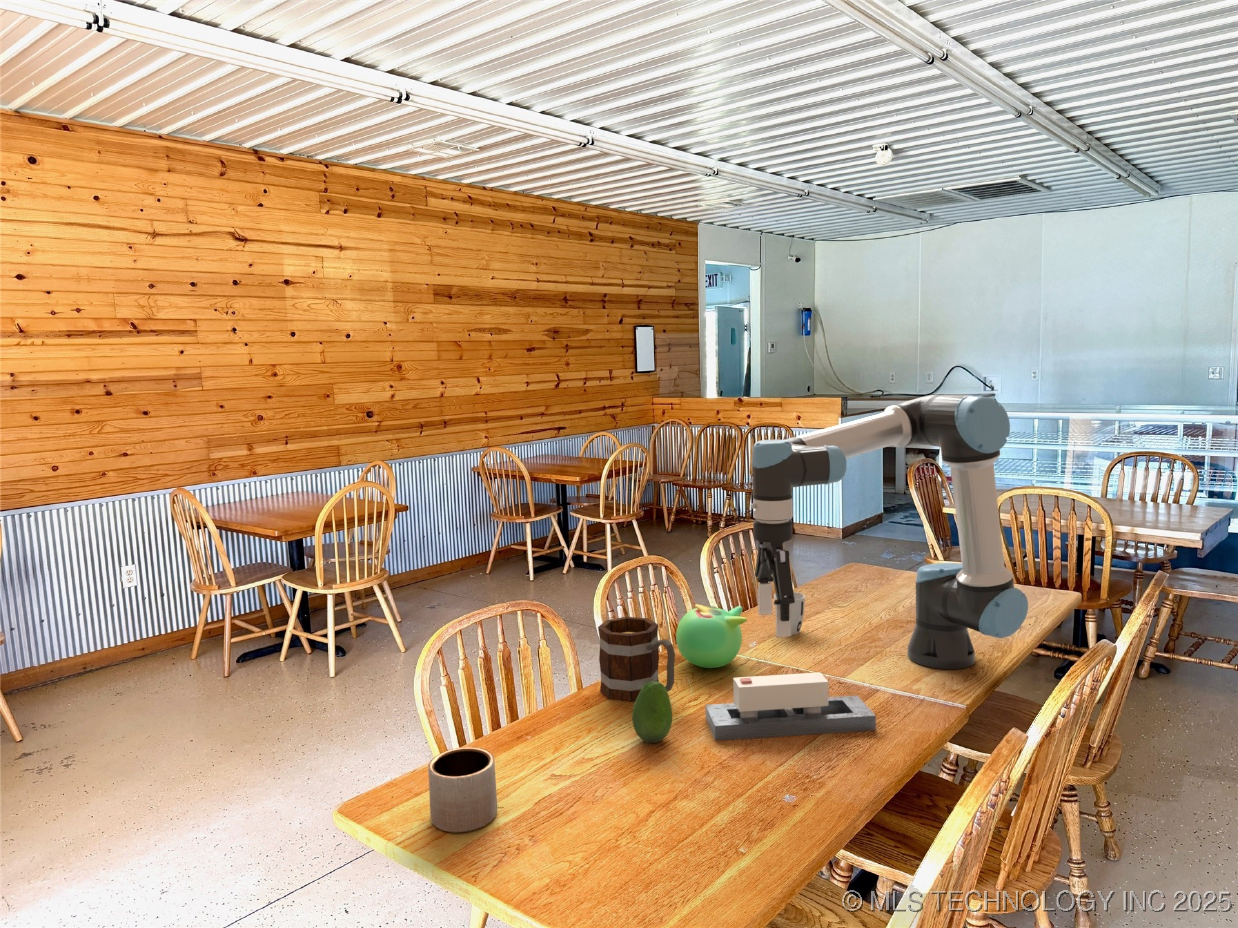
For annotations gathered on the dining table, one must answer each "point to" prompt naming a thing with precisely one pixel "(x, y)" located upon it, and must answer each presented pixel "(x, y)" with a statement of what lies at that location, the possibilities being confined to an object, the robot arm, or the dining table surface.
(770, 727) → the keyhole plate
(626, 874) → the dining table surface
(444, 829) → the planter
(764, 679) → the cream block with pegs
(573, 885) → the dining table surface
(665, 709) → the fruit
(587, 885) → the dining table surface
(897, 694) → the dining table surface
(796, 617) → the cup
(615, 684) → the mug
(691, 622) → the toy bird
